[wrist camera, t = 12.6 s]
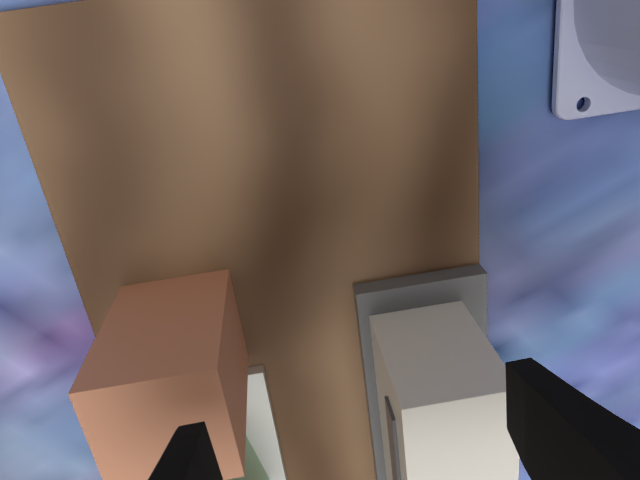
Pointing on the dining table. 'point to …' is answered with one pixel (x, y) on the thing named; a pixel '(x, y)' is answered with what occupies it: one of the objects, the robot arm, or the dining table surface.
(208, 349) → the terracotta block
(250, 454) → the sage block
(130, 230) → the service board
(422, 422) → the mounted unit
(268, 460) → the mat
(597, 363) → the dining table surface
